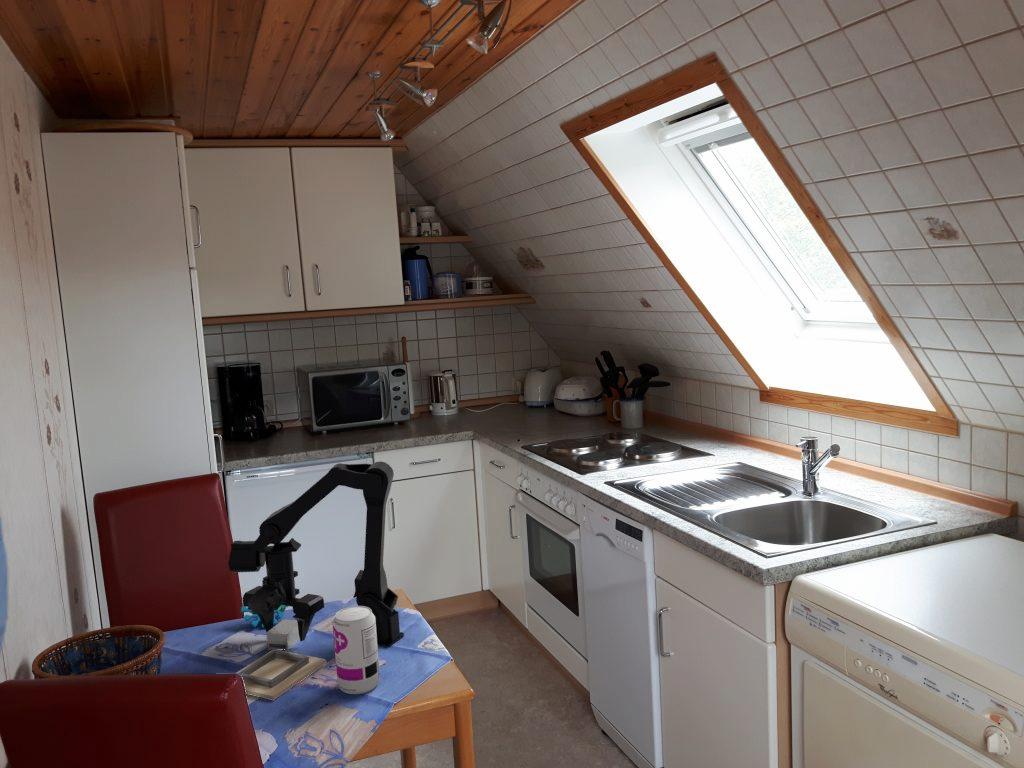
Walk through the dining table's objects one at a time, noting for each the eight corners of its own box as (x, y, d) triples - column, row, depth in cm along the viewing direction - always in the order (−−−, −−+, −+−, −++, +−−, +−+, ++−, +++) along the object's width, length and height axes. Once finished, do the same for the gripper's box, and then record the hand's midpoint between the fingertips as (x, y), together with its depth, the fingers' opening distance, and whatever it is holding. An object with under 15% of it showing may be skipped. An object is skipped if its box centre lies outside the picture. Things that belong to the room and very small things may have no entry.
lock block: (305, 637, 187) (303, 620, 186) (287, 652, 180) (286, 634, 179) (285, 635, 188) (284, 619, 188) (267, 650, 181) (266, 633, 181)
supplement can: (345, 700, 158) (338, 625, 156) (333, 682, 165) (327, 610, 163) (385, 688, 162) (380, 615, 160) (372, 671, 169) (367, 601, 167)
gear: (242, 627, 189) (240, 587, 195) (239, 638, 194) (237, 598, 199) (292, 623, 194) (288, 584, 200) (287, 634, 198) (284, 595, 204)
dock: (326, 663, 173) (325, 654, 173) (273, 701, 159) (272, 690, 159) (274, 653, 179) (273, 643, 179) (219, 688, 165) (218, 677, 165)
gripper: (220, 578, 179) (227, 646, 181) (288, 589, 171) (294, 660, 173) (257, 560, 189) (263, 625, 191) (323, 570, 180) (328, 638, 183)
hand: (286, 637), depth 184 cm, fingers open, 9 cm apart
